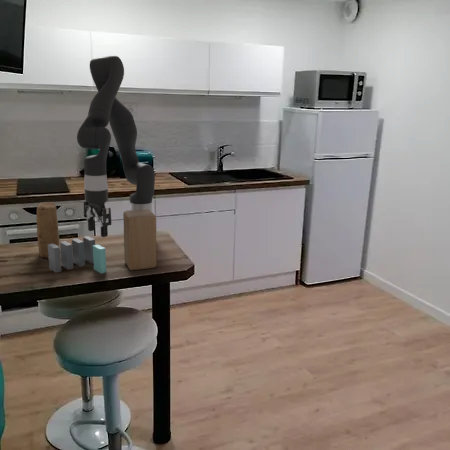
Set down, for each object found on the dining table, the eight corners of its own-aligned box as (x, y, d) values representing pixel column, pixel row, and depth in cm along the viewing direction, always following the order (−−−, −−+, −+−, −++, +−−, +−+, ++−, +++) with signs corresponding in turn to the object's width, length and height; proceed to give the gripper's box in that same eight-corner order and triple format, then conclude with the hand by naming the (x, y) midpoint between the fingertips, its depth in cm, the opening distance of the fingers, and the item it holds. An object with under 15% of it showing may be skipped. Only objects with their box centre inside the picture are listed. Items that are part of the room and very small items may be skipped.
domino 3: (78, 261, 168) (76, 238, 165) (84, 265, 164) (83, 241, 162) (73, 262, 166) (71, 239, 164) (79, 266, 163) (78, 242, 160)
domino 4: (89, 258, 171) (88, 235, 168) (96, 262, 167) (95, 239, 165) (84, 259, 169) (83, 236, 167) (91, 263, 166) (90, 240, 163)
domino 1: (54, 267, 161) (53, 243, 159) (61, 271, 158) (59, 247, 155) (49, 268, 160) (47, 244, 157) (55, 272, 157) (54, 248, 154)
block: (60, 258, 170) (56, 206, 164) (38, 259, 167) (34, 207, 162) (60, 248, 179) (57, 199, 174) (40, 249, 177) (36, 200, 171)
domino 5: (98, 267, 162) (97, 244, 160) (106, 272, 159) (105, 248, 156) (93, 269, 161) (92, 245, 158) (101, 273, 158) (100, 249, 155)
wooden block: (124, 261, 169) (122, 210, 163) (150, 258, 173) (149, 208, 167) (129, 271, 160) (128, 217, 154) (157, 268, 164) (156, 215, 158)
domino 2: (66, 264, 164) (65, 240, 162) (73, 268, 161) (71, 244, 159) (61, 265, 163) (59, 241, 160) (68, 269, 160) (66, 245, 157)
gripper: (117, 190, 149) (118, 236, 154) (95, 182, 159) (97, 226, 163) (96, 192, 144) (98, 240, 149) (75, 185, 153) (77, 230, 158)
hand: (97, 233), depth 156 cm, fingers open, 8 cm apart
